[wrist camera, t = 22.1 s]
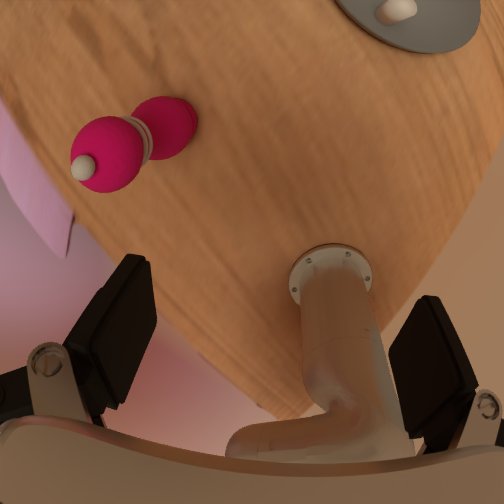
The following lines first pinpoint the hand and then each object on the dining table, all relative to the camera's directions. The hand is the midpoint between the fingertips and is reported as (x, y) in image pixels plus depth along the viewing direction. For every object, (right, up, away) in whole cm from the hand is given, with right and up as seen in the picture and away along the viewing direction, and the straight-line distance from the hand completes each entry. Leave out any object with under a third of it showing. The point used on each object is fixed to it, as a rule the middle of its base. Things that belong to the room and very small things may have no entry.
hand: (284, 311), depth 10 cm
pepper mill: (-11, +18, +24) cm, 32 cm away
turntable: (+16, +33, +9) cm, 38 cm away
